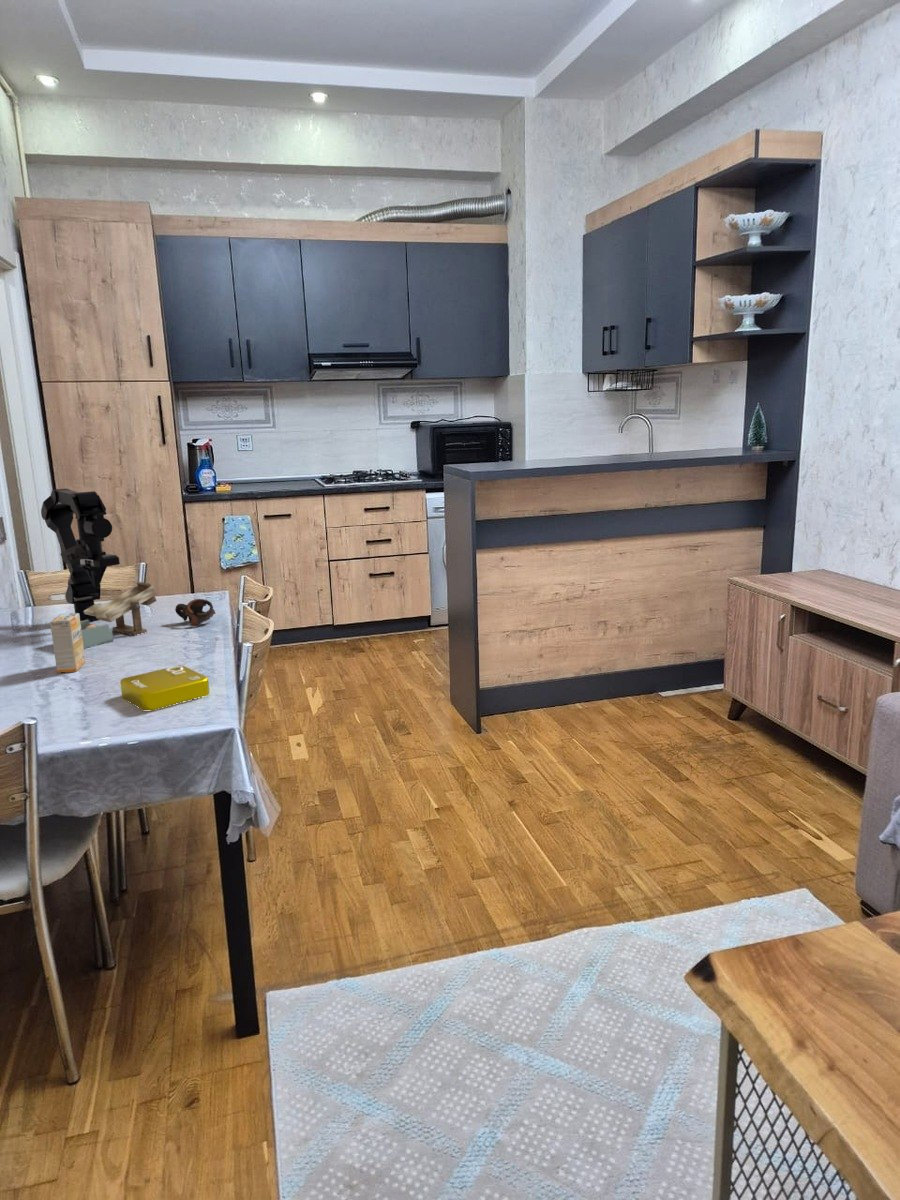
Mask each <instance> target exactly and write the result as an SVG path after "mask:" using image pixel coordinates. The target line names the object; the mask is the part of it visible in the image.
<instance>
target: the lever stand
mask: <svg viewBox="0 0 900 1200" xmlns="http://www.w3.org/2000/svg"><path fill="white" fill-rule="evenodd" d="M115 598H116V597H115ZM115 598H113V599H115ZM140 605H141V604H140ZM140 605H139V601H133V602H131V610H130V611H131V617H132V625H129V624H125V617H124V616H125V615H124V614H123V615H122V616H120V617H119V618H117V619H115V624H116V626H114V627H112V628H111V629H112V632H116V631H117V632H116V633H120V632H121V633H120V634H124V633H126V634H125V635H128V634H131V635H130V636H133V635H136V636H138V635H137V634H140V635H142V634H141V633H144V634H146V633H145V632H147V633H148V631H147V628H143V627H142V617H141V606H140Z"/></svg>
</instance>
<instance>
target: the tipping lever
mask: <svg viewBox="0 0 900 1200" xmlns="http://www.w3.org/2000/svg"><path fill="white" fill-rule="evenodd" d="M156 595H157V593H156V590H155V588H154V586H152V584H151V583H148V582H143V581H142V582H141V581H139V582H137V583H136V585H135V586H133V587H132V588H130V589H129V590H126V591H125V592H124V593H122V594H120V595H119V596H118V595H117V596H116V597H115V599H114V598H112V599H111V600H110V601H107V602H106V603H105V604H103V605H102V604H101V605H100V604H96V603H94V605H93V606H91V607H89V608H88V609H86V610H84V611H83V612H84V614H87V615H91V616H96V618H97V619H98V620H99V621H104V622H108V623H112V622H113V621H116V619H117V618H119V617H120V616H122V615H123V616H124V615H125V614H126V613H129V612H130V611H132V610H131V602H133V601H139V605H143V606H148V607H150V606H151V605H152V604H154V603H155V602H157V599H156Z"/></svg>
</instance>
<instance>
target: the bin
mask: <svg viewBox="0 0 900 1200" xmlns="http://www.w3.org/2000/svg"><path fill="white" fill-rule="evenodd" d="M90 622H91V621H90ZM90 622H89V620H84V621H80V624H81V632H82V639H83V647H84V648H85V649H88V647H89V648H92V647H91V646H93V647H96V646H95V645H97V646H100V644H101V645H104V643H105V644H108V643H111V641H112V642H114V636H113V629H112V628H110V627H109V624H108V623H106V624H102V625H97V624H94V625H95V626H97V627H93V628H89V629H85V628H86V627H87V626H89V625H93V624H91V623H90Z"/></svg>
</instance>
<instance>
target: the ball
mask: <svg viewBox="0 0 900 1200" xmlns="http://www.w3.org/2000/svg"><path fill="white" fill-rule="evenodd" d="M95 625H96V624H92V625H89V626H87V627H86V628H85V629H89V628H93V627H97V626H98V625H96V626H95Z"/></svg>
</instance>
